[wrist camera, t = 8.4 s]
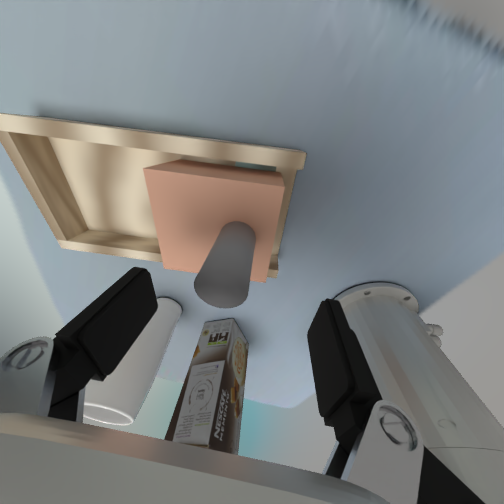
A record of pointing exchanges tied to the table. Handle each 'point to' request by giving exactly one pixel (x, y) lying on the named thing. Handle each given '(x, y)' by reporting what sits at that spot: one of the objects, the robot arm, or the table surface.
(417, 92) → the table surface
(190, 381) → the coffee box
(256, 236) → the salmon block with knob
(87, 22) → the table surface
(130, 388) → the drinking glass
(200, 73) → the table surface
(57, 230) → the bay
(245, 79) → the table surface
